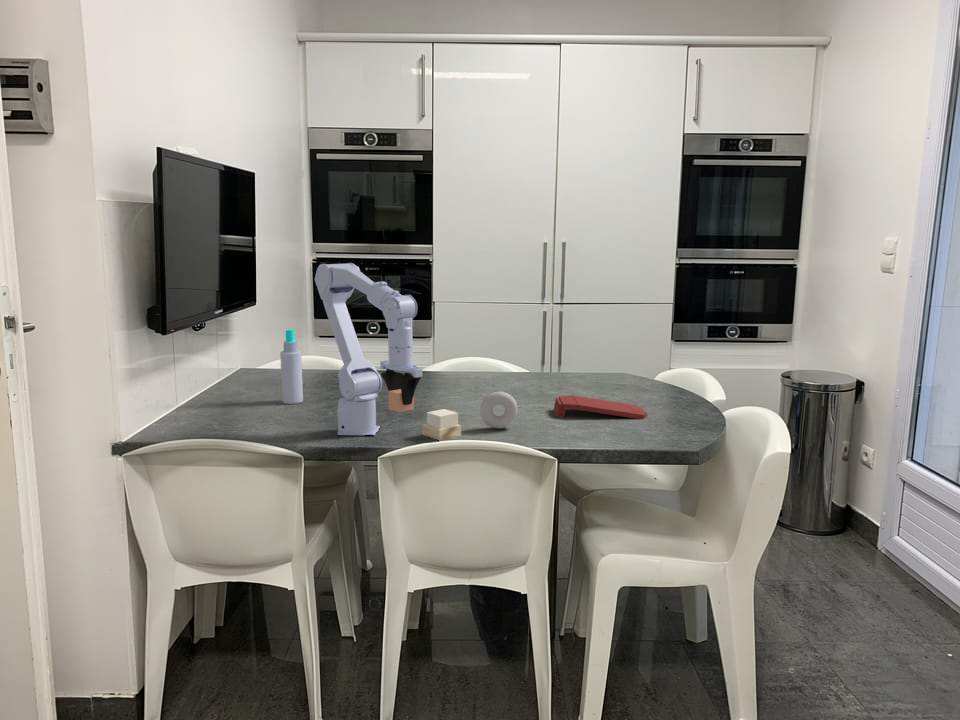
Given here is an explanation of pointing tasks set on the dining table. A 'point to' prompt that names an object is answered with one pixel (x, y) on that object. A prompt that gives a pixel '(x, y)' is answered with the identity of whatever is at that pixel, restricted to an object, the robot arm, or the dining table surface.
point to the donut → (496, 399)
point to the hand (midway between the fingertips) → (401, 402)
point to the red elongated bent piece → (597, 407)
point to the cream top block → (442, 418)
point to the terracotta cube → (398, 401)
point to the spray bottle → (291, 371)
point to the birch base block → (441, 432)
